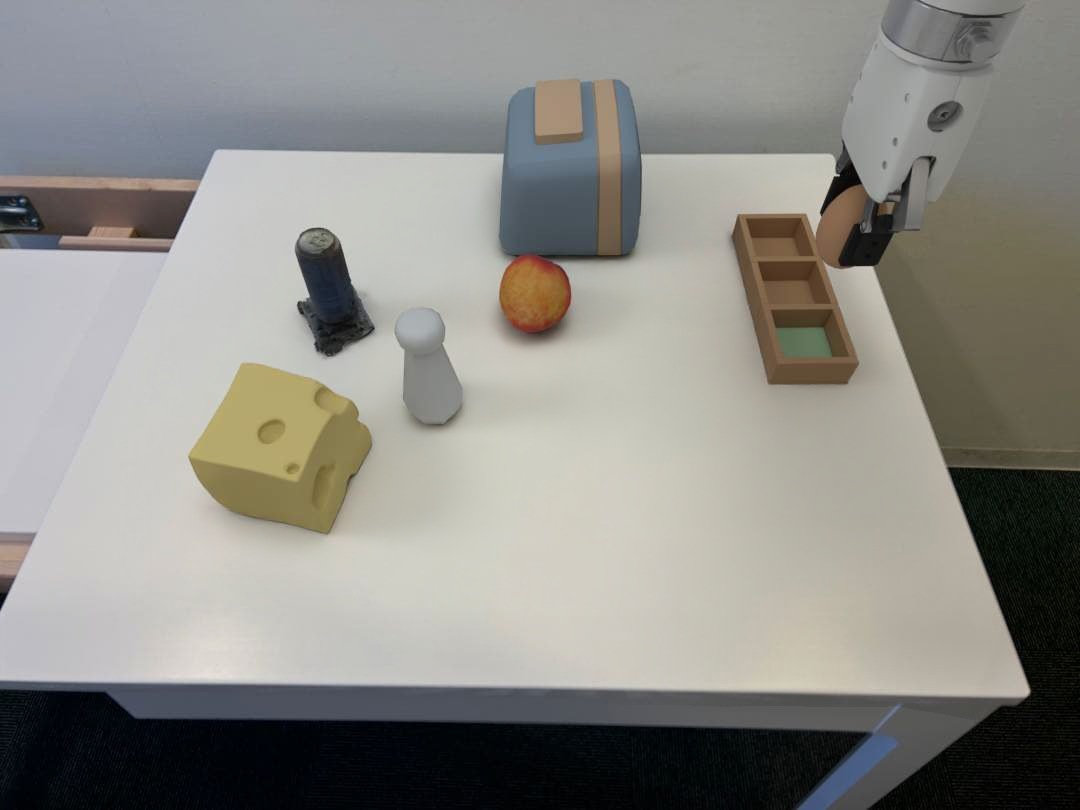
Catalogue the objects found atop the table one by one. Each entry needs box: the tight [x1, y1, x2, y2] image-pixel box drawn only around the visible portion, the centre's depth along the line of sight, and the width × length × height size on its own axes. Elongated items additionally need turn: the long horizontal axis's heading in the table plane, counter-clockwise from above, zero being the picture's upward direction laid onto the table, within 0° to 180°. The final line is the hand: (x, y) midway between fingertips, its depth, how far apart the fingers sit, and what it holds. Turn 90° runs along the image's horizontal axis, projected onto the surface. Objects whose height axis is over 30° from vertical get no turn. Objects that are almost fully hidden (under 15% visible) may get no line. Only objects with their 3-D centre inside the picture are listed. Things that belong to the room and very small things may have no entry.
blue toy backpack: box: [498, 77, 643, 256], centre depth 80 cm, size 16×16×16 cm
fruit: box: [498, 254, 572, 333], centre depth 74 cm, size 8×8×8 cm
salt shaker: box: [394, 306, 464, 425], centre depth 65 cm, size 6×6×13 cm
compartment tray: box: [731, 212, 860, 385], centre depth 77 cm, size 23×8×3 cm, turn 0°
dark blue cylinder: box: [294, 227, 376, 356], centre depth 72 cm, size 9×8×12 cm
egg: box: [815, 184, 888, 270], centre depth 58 cm, size 5×5×8 cm
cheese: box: [187, 362, 373, 534], centre depth 61 cm, size 10×11×10 cm
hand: (847, 237), depth 59 cm, fingers closed on egg, 5 cm apart
